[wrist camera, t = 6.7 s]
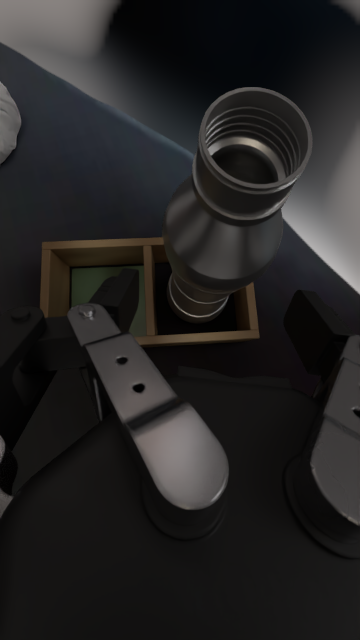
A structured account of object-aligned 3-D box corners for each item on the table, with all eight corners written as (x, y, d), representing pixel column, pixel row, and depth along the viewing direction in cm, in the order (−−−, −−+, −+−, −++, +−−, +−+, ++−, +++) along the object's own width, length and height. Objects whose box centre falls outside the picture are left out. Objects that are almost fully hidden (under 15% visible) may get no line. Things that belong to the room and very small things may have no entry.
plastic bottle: (224, 273, 28) (354, 58, 8) (221, 329, 26) (364, 245, 7) (169, 268, 27) (162, 38, 8) (164, 325, 26) (141, 225, 7)
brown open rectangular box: (61, 352, 25) (37, 351, 21) (63, 260, 27) (41, 241, 23) (245, 341, 26) (259, 338, 22) (235, 253, 28) (247, 233, 24)
